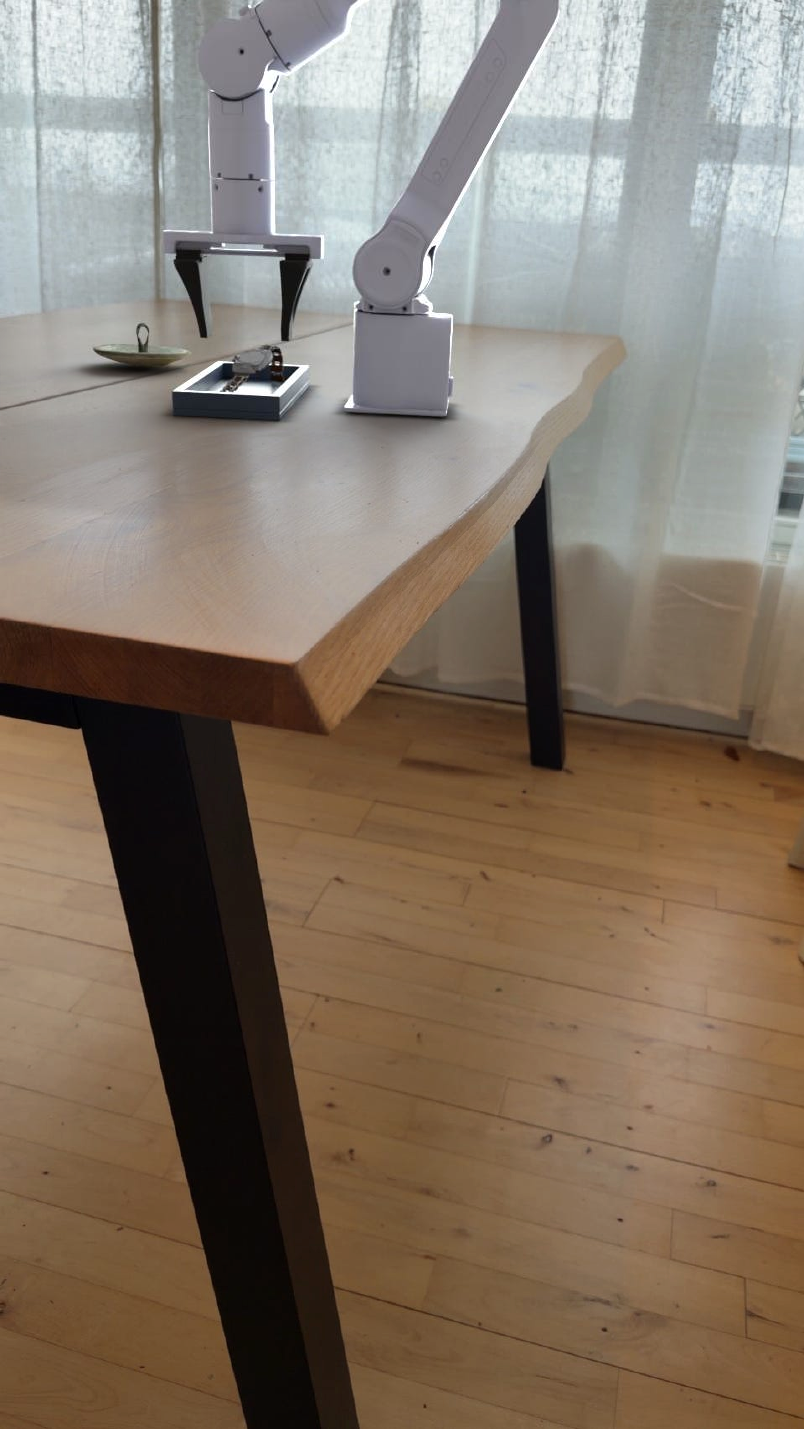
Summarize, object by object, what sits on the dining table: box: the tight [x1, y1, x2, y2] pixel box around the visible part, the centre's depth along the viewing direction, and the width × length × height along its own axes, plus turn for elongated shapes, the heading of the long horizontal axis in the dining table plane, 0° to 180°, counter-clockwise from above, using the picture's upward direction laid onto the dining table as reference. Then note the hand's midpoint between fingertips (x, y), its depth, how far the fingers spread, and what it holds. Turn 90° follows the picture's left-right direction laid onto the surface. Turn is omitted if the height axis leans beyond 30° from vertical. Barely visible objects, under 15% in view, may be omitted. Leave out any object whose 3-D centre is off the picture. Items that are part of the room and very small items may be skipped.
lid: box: [92, 322, 192, 368], centre depth 126 cm, size 11×10×5 cm
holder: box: [171, 361, 310, 421], centre depth 110 cm, size 20×10×2 cm, turn 177°
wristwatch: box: [220, 343, 284, 393], centre depth 110 cm, size 4×14×5 cm, turn 162°
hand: (246, 338), depth 108 cm, fingers open, 7 cm apart
